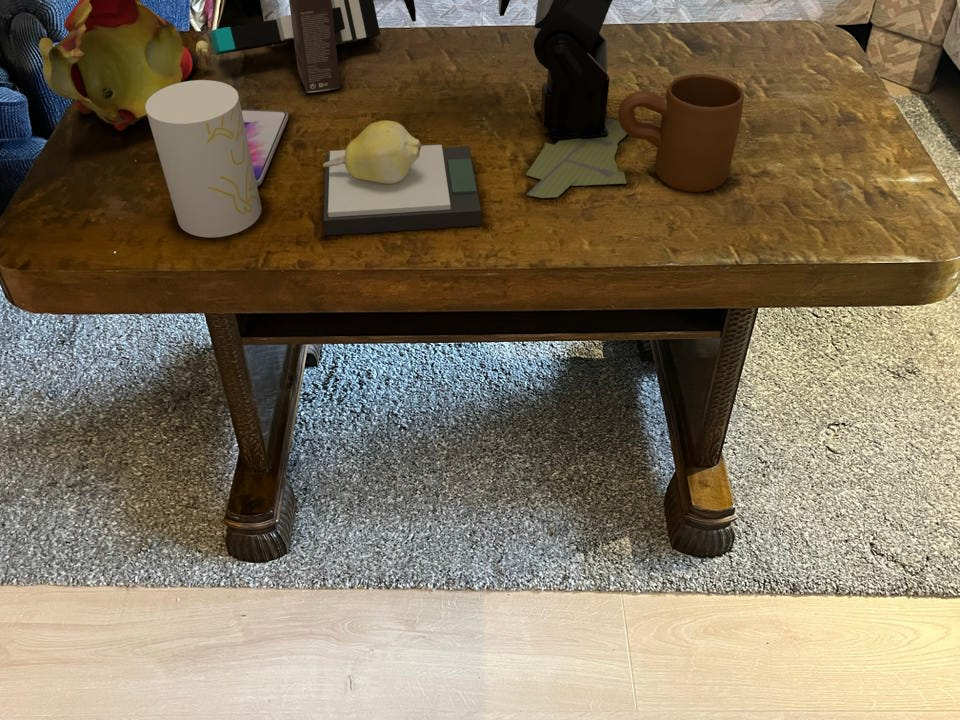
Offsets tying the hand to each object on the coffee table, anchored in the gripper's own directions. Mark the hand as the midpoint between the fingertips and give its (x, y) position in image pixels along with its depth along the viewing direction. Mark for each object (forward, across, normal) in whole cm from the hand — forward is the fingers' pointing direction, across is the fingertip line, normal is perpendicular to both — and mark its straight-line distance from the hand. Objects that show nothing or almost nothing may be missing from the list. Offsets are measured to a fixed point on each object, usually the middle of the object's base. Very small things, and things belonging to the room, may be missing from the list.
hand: (457, 17), depth 93 cm
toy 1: (+7, +32, -1) cm, 33 cm away
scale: (+12, +8, +14) cm, 20 cm away
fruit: (+10, +10, +14) cm, 20 cm away
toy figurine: (+12, +33, -15) cm, 38 cm away
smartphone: (+12, +24, +3) cm, 27 cm away
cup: (+12, +26, +15) cm, 32 cm away
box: (+12, +16, -12) cm, 23 cm away
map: (+12, -12, +10) cm, 20 cm away
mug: (+12, -20, +14) cm, 28 cm away
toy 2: (+8, +28, -16) cm, 34 cm away
